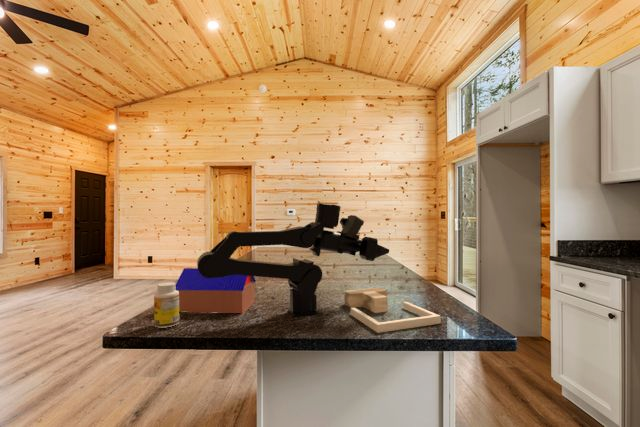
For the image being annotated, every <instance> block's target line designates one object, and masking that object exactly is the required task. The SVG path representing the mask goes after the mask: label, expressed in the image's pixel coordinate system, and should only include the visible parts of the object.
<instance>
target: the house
mask: <svg viewBox="0 0 640 427" xmlns="http://www.w3.org/2000/svg"><path fill="white" fill-rule="evenodd" d="M256 282H257V281H256V279H255V276H245V275H231V276H226V277H219V278H205V277H203V276H202V275H201V274H200V273H199V271H198V267H196V268H193V267H190V268H189V267H188V268H185V267H184V268H183V269H182V271H181V273H180V276H178V279H177V281H176V283H175V285H176V289H175V290H177V291H179V311H189V312H222V313H243V314H244V313H246V311H247V310H249V309H250V308H251V307H252V306H253V305H254V304H255V303H256V292H255V291H256V289H255V286H256V285H255V284H256ZM254 302H255V303H254ZM253 303H254V304H253ZM252 304H253V305H252ZM251 305H252V306H251ZM250 306H251V307H250ZM249 307H250V308H249ZM248 308H249V309H248Z"/></svg>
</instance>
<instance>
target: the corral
mask: <svg viewBox="0 0 640 427" xmlns="http://www.w3.org/2000/svg"><path fill="white" fill-rule="evenodd" d="M402 309H403V310H406V311H407V312H410V313H412V314H415V315H416V316H417V317H416V316H415V317H411V318H402V319H395V320H389V321H382V322H380V321H378V320H377V319H374V318H373V317H371V316H369V315H368V314H366V313H365V312H364V311H361V310H360V309H358V308H357V307H354V308H350V316H352V317H353V318H355V319H356V320H358V321H359V322H361V323H363V325H365V326H367V327H368V328H370V329H371V330H372V331H374V332H376V333H378V334H379V333H386V332H392V331H393V332H394V331H398V330H405V329H412V328H417V327H419V328H420V327H425V326H432V325H438V324H439V325H440V324H441V323H442V322H441V321H442V319H441V318H442V317H441V315H439V314H437V313H435V312H432V311H429V310H427V309H425V308H423V307H420V306H418V305H415V304H413V303H410V302H408V301H402Z"/></svg>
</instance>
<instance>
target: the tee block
mask: <svg viewBox="0 0 640 427" xmlns="http://www.w3.org/2000/svg"><path fill="white" fill-rule="evenodd" d="M343 292H344V295H343V296H344V305H345V306H347V307H348V308H349V309H351V308H362V307H363V308H365V309H367V310H369V311H370V312H372V313H374V314H379V313H386V312H388V310H389V309H388V306H389V305H388V295H387V292H388V291H387V289H384V288H382V287H373V288H371V287H370V288H361V289H351V290H349V289H348V290H344V291H343Z"/></svg>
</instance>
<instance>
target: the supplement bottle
mask: <svg viewBox="0 0 640 427" xmlns="http://www.w3.org/2000/svg"><path fill="white" fill-rule="evenodd" d="M175 289H176V283H175V282H170V281H169V282H168V281H167V282H161V283H159V284H157V291H156V292H155V293H154V294H153V305H154V306H153V309H154V310H153V313H154V314H153V315H154V317H153V318H154V322H153V324H154V327H155V328H156V327H158V328H157V329H159V328H166V329H168V328H167V327H171V328H173V327H172V326H174V327H176V326H178V325H179V323H180V313H179V291H177V290H175ZM177 324H178V325H177ZM175 325H176V326H175Z"/></svg>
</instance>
